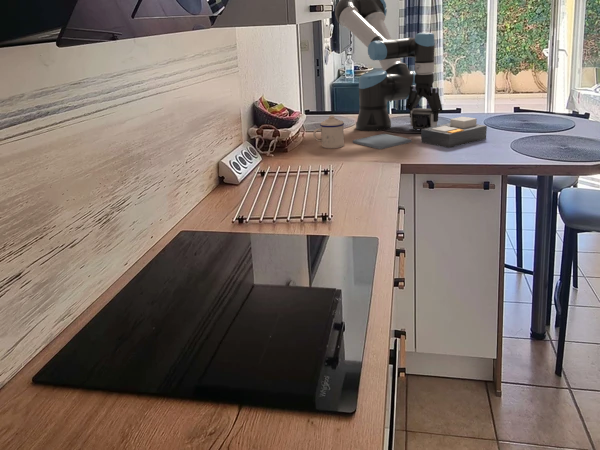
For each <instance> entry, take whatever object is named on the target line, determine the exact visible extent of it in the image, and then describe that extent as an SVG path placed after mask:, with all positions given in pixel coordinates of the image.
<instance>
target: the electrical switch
mask: <svg viewBox="0 0 600 450" xmlns="http://www.w3.org/2000/svg"><path fill="white" fill-rule="evenodd" d="M432 113H433V112H432V110H431V108H424V107H423V108H420V107H416V108H413V109H412V124H413V126H412V130H413V129H425V128H429V127H431V114H432Z"/></svg>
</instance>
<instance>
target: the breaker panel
mask: <svg viewBox="0 0 600 450" xmlns="http://www.w3.org/2000/svg"><path fill="white" fill-rule="evenodd" d="M442 126H448V127H453V126H450V122H447V123H444V124H439V125H437V126H434V127H429V128H425V129H421V137H420V139H421V140H420V142H421V143H423V144H427V145H432V146H437V147H442V148H446V149H450V148H455V147H459V146H463V145H466V144H471V143H475V142H479V141H483V140H487V130H488V125H485V124H478V123H476V126H472V127H468V128H459V127H454V128H458V129H457V130H452V131H448V132H446V133H444V132H439V131H433V130H431V129H432V128H437V127H442Z"/></svg>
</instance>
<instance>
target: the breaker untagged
mask: <svg viewBox="0 0 600 450" xmlns="http://www.w3.org/2000/svg"><path fill="white" fill-rule="evenodd" d="M449 120H450V121H449V123H450V126H453V127H459V128H468V127H472V126H476V124H477V120H478V119H477V118H475V117H468V116H458V117H455V118H454V117H453V118H450V119H449Z"/></svg>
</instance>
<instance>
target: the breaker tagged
mask: <svg viewBox="0 0 600 450" xmlns="http://www.w3.org/2000/svg"><path fill="white" fill-rule="evenodd" d="M457 129H458V128H454V127H448V126H442V127H437V128H432V129H431V130H433V131H439V132H444V133H446V132H448V131H452V130H457Z"/></svg>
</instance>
